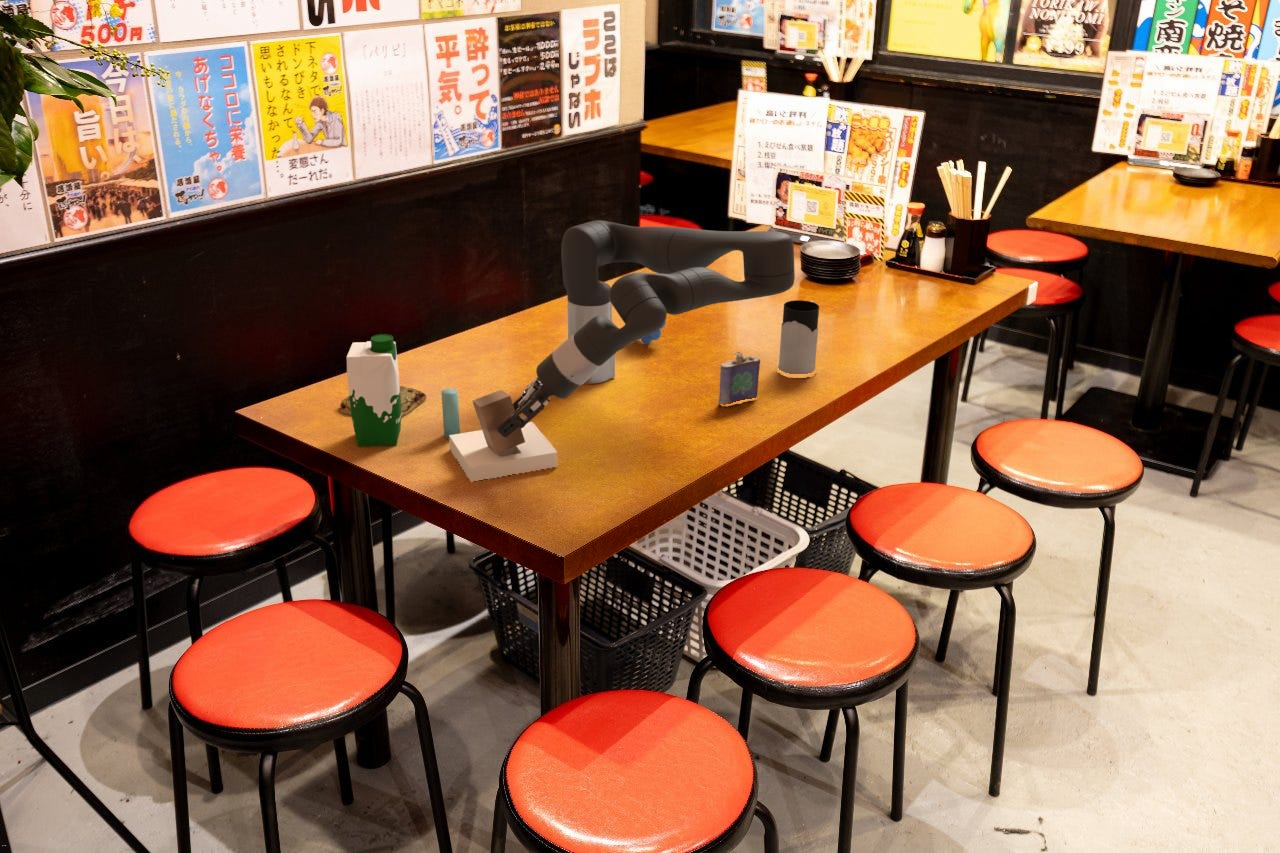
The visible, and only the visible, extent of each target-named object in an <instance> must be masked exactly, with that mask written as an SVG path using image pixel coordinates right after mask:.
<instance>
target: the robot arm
mask: <svg viewBox="0 0 1280 853" xmlns="http://www.w3.org/2000/svg"><path fill="white" fill-rule="evenodd" d="M560 246H561V248H560V249H561V266H562V267H561V268H562V282H563V285H564V288H565V292H566V295H567V297H566V298H567V301H566V302H567V339H566V340H565V341H563V342H562V343H561V344H560V345H559V346H557V348H555V349H554V350H553V351H552V352H551V353H550V354H549V355H548V356H547V357H545V359H543V360H542V361H541V362H540V363H538V365H537V366H536V368H535V369H536V370H535V371H536V376H537V377H536V378H535V379H534V380H533V381H532V382H530V383H529V384H528V385H526V388H525V389H524V390H523V391H522V392H521V395H520V396H519V397H518V398H517V399H516V400H515V401H514V402H512V403H513V406H514V409H515V412H514V413H512V414H511V416H510V417H509V418H508V419H507V420H506V421H505V422H503V423H502V424H501V425H500V426H499V427H498V429H497V430H498V432H499V433H500V434H501V435H502V436H503V437H508V436H509V435H510V434H511V433H512V432H513V431H514V430H516V429H517V428H518V427H520V428H523V427H524V426H525V425H526V424H527V423H528V422H531V421H532V419H533V418H535V417H536V416H537V415H538V414H540V412H542V411H543V410H544V409H545V407H546V406H547V405H548V404H549V403H550V401H551V397H556V398H557V399H560V400H565V399H567V398H569V397H570V396H571V395H572V394H573V393H574V392H575V391H576V390H578V389H579V388H580V387H581V386H582V385H584V384H587V385H588V384H594V385H595V384H601V383H605V382H607V381H609V380H610V379H614V378H616V353H617V352H619V351H620V350H622V349H623V348H625V347H627V346H629V345H631V344H633V343H634V342H637V341H640V340H639V339H641V338H643V337H646V336H648V335H650V334H652V333H654V332H656V331H657V330H659V329H660V328H661V327H662V326H663V324H664V322H665V321H666V319H667V316H668V315H672V316H676V315H682V314H684V313H688V312H691V311H694V310H697V309H701V308H703V307H707V306H711V305H716V304H722V303H729V302H736V301H745V300H750V299H759V298H763V297H770V296H775V295H779V294H782V293H785V292H787V291H789V290H790V289H791V288H793V286H794V284H795V279H796V278H795V277H796V276H795V272H796V270H795V245H794V240H793V237H792V236H790V235H789V234H787V233H786V232H781V231H773V230H772V231H771V230H769V231H768V230H767V231H766V230H759V231H758V230H757V231H756V230H755V231H754V230H752V231H751V230H750V231H749V230H748V231H746V230H745V231H743V230H742V231H739V230H738V231H736V230H735V231H733V230H731V231H727V230H724V231H723V230H711V229H710V230H709V229H708V230H707V229H698V228H689V227H688V228H687V227H675V226H633V225H632V226H631V225H627V224H622V223H618V222H617V223H616V222H613V221H607V220H601V219H599V220H596V219H595V220H592V221H588V222H584V223H581V224H580V223H579V224H578V225H574V226H572V227H569V228H567V229H566V231H565V233H564V234H563V237H562V241H561V245H560ZM734 251H740V252H742V257H743V258H742V259H743V263H742V264H743V277H744V280H742V281H736V280H734V279H732V278H729V277H727V276H725V275H723V274H722V273H720V272H718V271H716V270H713V269H711V268H708V267H709V266H710V265H712V264H713V263H714V262H716V261H717V260H719V259H720V258H721V257H724V256H725V255H727V254H729V253H732V252H734ZM611 263H635V264H636V263H637V264H639V265H642V266H643V267H645V268H646V269H648V270H649V271H652V272H634V273H629V274H625V275H623V276H621V277H619V278H618V279H616V280H615V281H614V283H613V284H612V285H611V286H610V284H608V283H607V282H605V281H601V280H599V269H598V268H599V267H601V266H605V265H607V264H611ZM653 272H654V273H653ZM612 307H613V308H614V310H615V311H616V312H617V314H618V316H619V317H620V319H621V320H622V321H623V323H624V325H623V326H622V327H620V328H619V327H618V326H617V325H616V324H615V323H614V322H613V320H612V318H613V317H612V316H613V314H612V313H613V312H612V310H613V308H612ZM660 330H661V329H660ZM521 414H523V415H524V417H521V416H520V415H521Z"/></svg>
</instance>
